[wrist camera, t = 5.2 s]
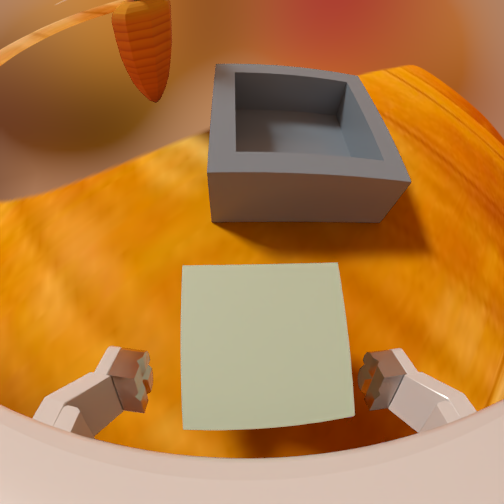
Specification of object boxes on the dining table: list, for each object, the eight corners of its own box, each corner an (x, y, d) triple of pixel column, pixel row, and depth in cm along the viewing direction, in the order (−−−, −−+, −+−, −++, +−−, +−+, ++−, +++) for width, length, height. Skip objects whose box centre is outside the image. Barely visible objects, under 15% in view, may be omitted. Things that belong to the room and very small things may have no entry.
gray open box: (211, 222, 19) (207, 172, 15) (216, 109, 24) (215, 64, 20) (379, 222, 20) (411, 181, 16) (343, 116, 25) (357, 76, 21)
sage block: (209, 403, 14) (183, 429, 6) (207, 325, 16) (182, 265, 8) (290, 399, 15) (355, 415, 7) (285, 323, 17) (337, 262, 8)
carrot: (189, 104, 24) (180, -46, 11) (140, 124, 23) (109, -31, 9) (169, 83, 26) (157, -46, 12) (125, 100, 25) (98, -31, 11)
